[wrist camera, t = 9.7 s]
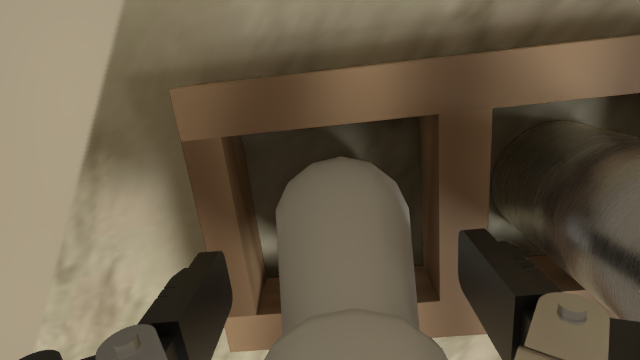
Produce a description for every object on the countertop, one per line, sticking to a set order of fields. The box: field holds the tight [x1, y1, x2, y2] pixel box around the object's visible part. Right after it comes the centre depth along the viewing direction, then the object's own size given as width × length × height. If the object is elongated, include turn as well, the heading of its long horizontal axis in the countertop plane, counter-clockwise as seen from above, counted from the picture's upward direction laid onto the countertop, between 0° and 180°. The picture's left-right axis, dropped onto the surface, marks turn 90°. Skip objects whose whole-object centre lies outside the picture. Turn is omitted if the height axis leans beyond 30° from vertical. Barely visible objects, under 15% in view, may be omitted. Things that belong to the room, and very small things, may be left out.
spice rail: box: [169, 34, 640, 352], centre depth 16 cm, size 22×12×3 cm, turn 96°
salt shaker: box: [265, 156, 448, 360], centre depth 12 cm, size 6×6×13 cm
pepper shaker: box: [492, 121, 640, 322], centre depth 13 cm, size 6×6×10 cm
